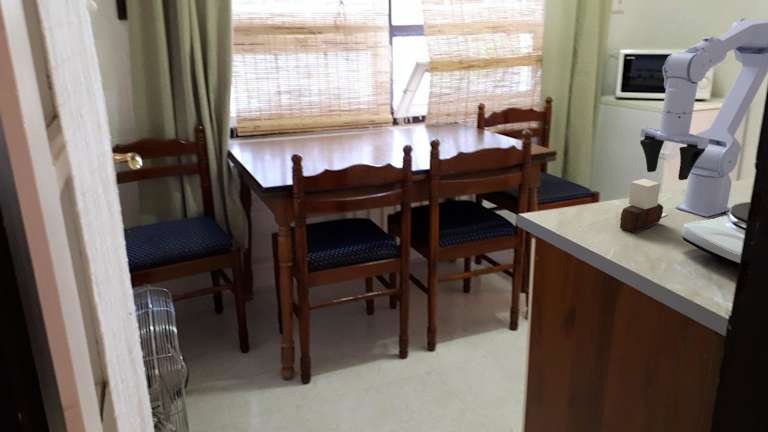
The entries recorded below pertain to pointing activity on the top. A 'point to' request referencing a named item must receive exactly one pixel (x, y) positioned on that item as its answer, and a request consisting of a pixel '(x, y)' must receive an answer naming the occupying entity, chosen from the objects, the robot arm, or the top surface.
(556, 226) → the top surface
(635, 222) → the brick
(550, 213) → the top surface
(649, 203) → the cream block
